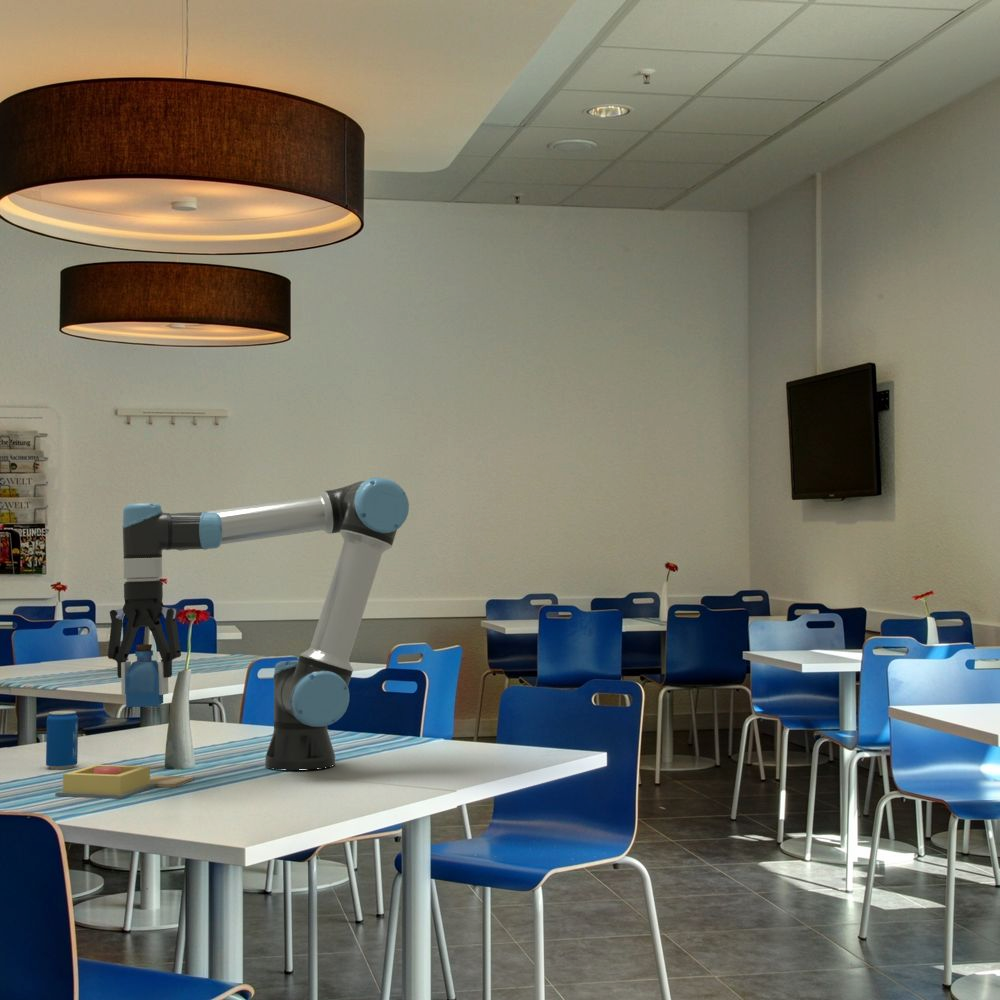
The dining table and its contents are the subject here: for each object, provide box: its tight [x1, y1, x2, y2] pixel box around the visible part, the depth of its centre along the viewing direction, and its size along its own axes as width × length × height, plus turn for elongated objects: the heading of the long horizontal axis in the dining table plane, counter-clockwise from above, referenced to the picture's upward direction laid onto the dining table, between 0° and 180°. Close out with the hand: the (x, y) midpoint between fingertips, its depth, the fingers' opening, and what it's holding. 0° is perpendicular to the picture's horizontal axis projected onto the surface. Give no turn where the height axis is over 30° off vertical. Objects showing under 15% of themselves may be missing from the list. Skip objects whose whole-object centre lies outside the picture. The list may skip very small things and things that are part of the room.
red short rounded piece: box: [94, 766, 121, 775], centre depth 255 cm, size 5×5×3 cm
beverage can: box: [45, 710, 79, 770], centre depth 284 cm, size 6×6×12 cm
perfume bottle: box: [125, 643, 164, 708], centre depth 261 cm, size 6×6×12 cm
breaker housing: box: [54, 764, 157, 800], centre depth 255 cm, size 14×14×4 cm
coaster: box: [150, 774, 195, 788], centre depth 264 cm, size 9×9×1 cm
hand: (145, 694), depth 261 cm, fingers closed on perfume bottle, 7 cm apart
